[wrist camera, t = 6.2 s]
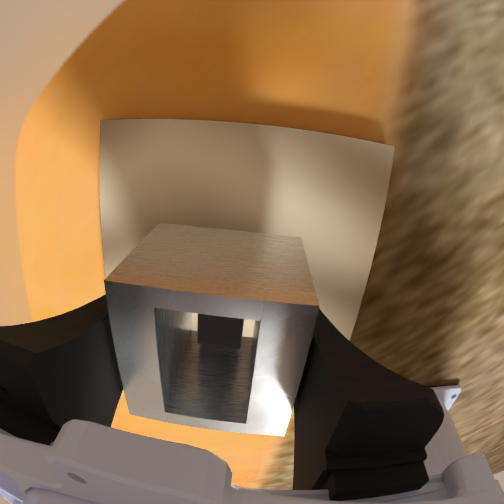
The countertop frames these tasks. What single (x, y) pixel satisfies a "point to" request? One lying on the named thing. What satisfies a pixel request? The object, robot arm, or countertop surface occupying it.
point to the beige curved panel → (249, 199)
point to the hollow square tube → (218, 304)
